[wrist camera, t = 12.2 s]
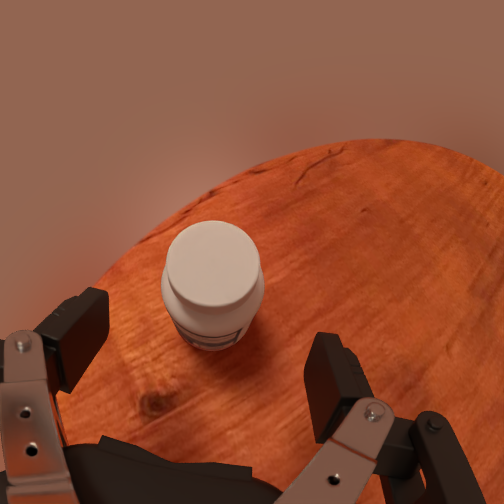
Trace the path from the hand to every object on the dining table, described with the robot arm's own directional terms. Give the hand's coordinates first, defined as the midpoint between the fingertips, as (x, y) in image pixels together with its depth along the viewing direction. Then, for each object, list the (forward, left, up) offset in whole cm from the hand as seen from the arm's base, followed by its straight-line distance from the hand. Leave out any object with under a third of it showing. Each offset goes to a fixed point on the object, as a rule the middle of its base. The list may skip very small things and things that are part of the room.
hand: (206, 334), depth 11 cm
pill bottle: (+1, +3, -9) cm, 10 cm away
